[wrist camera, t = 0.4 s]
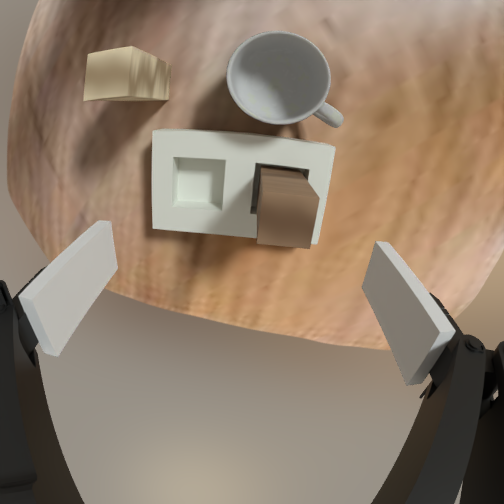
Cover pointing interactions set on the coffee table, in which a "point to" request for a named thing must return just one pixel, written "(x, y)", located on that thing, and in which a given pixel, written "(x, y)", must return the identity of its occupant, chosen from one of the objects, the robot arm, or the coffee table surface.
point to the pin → (126, 76)
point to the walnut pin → (285, 208)
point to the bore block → (226, 178)
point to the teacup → (281, 79)
